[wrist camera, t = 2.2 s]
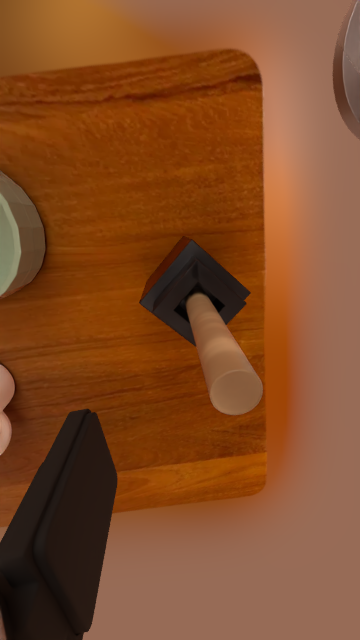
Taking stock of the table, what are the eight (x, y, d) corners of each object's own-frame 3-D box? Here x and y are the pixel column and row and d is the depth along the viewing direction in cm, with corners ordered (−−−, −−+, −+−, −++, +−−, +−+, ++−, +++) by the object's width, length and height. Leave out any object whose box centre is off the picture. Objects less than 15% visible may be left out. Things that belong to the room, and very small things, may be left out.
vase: (183, 235, 31) (195, 240, 18) (226, 274, 32) (263, 301, 20) (146, 281, 32) (135, 313, 20) (189, 315, 34) (202, 364, 22)
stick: (194, 282, 22) (236, 359, 9) (211, 296, 23) (274, 390, 10) (179, 299, 23) (198, 397, 10) (196, 313, 23) (237, 424, 10)
